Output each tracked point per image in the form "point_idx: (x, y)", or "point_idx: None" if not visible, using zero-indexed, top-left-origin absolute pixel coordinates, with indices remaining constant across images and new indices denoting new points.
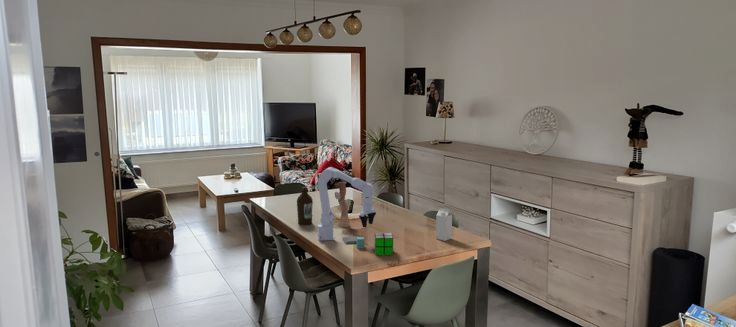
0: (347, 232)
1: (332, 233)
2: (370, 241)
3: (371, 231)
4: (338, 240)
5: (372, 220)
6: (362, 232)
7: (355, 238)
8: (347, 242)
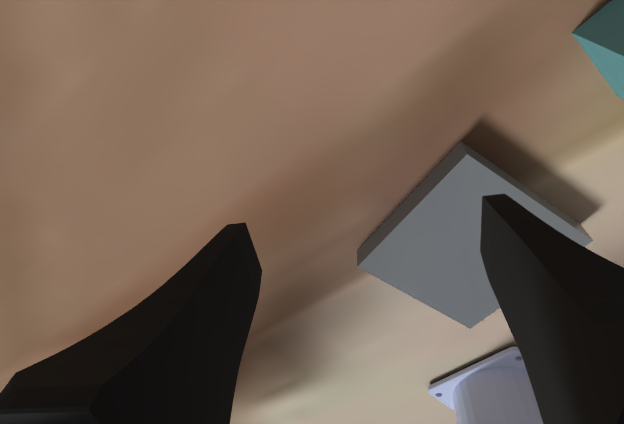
0: (273, 367)
1: (515, 408)
2: (348, 81)
3: (97, 264)
4: (500, 321)
5: (216, 265)
6: None
7: (432, 232)
8: (578, 226)
